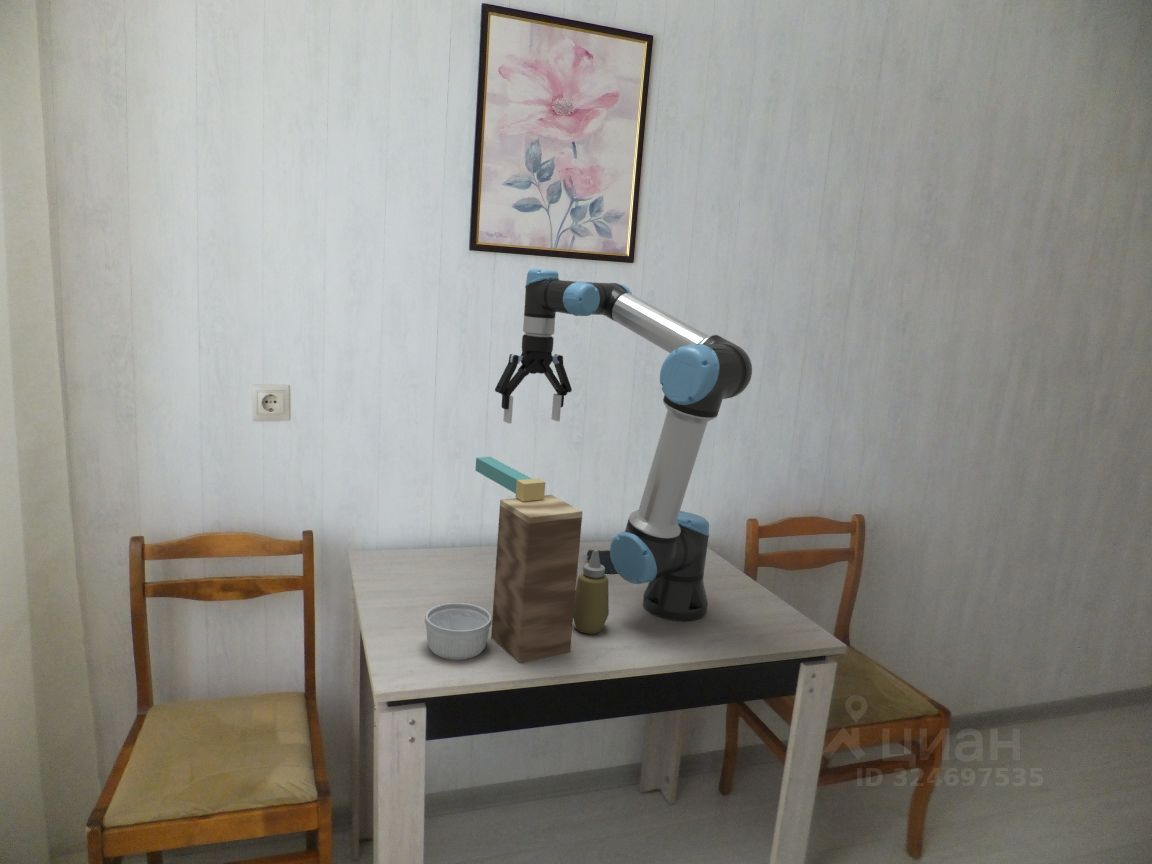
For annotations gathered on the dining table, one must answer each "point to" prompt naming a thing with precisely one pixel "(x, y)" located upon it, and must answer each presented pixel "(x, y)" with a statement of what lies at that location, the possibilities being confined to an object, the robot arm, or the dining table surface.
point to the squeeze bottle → (591, 597)
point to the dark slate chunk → (604, 561)
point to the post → (535, 577)
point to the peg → (511, 479)
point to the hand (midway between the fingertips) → (531, 421)
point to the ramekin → (457, 630)
